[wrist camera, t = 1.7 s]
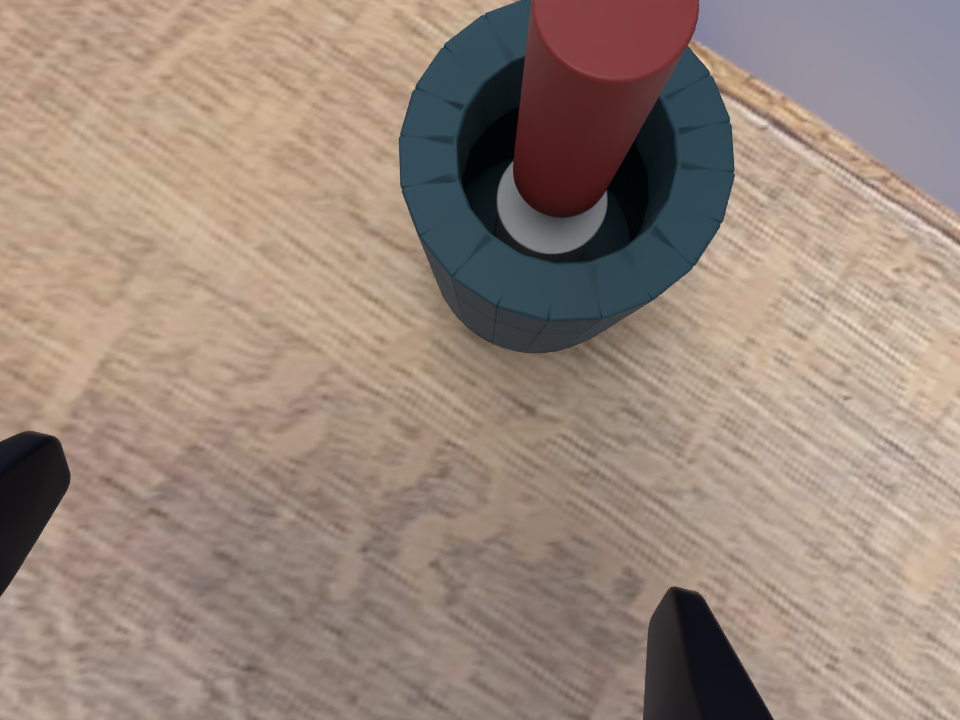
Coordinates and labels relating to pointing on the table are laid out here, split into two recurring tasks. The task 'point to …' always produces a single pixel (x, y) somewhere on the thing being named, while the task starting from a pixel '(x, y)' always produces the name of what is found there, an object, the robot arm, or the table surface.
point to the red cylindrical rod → (583, 114)
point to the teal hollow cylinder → (630, 196)
